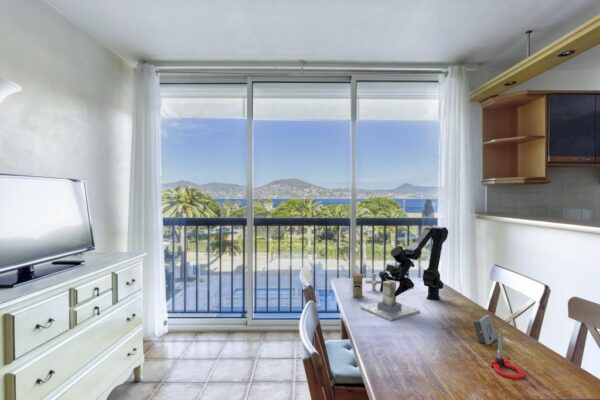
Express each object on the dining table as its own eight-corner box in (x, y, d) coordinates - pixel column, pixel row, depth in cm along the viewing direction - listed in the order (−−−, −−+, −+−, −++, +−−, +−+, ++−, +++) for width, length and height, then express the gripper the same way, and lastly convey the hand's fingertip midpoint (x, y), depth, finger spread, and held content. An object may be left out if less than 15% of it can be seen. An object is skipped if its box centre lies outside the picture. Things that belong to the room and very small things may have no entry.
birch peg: (389, 306, 169) (389, 280, 169) (395, 308, 166) (395, 282, 165) (382, 307, 167) (382, 281, 167) (389, 310, 163) (389, 283, 163)
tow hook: (531, 379, 105) (509, 363, 114) (533, 339, 104) (510, 326, 113) (506, 382, 104) (486, 365, 113) (508, 341, 103) (487, 328, 112)
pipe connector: (381, 288, 205) (381, 271, 205) (383, 293, 195) (383, 275, 195) (364, 287, 206) (364, 271, 206) (366, 292, 196) (366, 275, 196)
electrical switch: (488, 346, 127) (486, 321, 128) (474, 343, 131) (471, 318, 132) (497, 338, 134) (494, 315, 134) (483, 336, 137) (480, 312, 138)
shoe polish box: (362, 297, 187) (362, 276, 186) (353, 297, 188) (353, 275, 187) (362, 295, 191) (362, 273, 191) (353, 294, 192) (353, 273, 192)
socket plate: (388, 301, 180) (388, 294, 180) (419, 312, 163) (419, 305, 163) (360, 308, 169) (360, 301, 169) (390, 320, 153) (390, 313, 153)
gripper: (380, 255, 176) (365, 279, 170) (410, 261, 160) (394, 288, 154) (391, 268, 180) (376, 292, 175) (421, 275, 165) (405, 302, 159)
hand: (387, 293), depth 166 cm, fingers open, 9 cm apart
